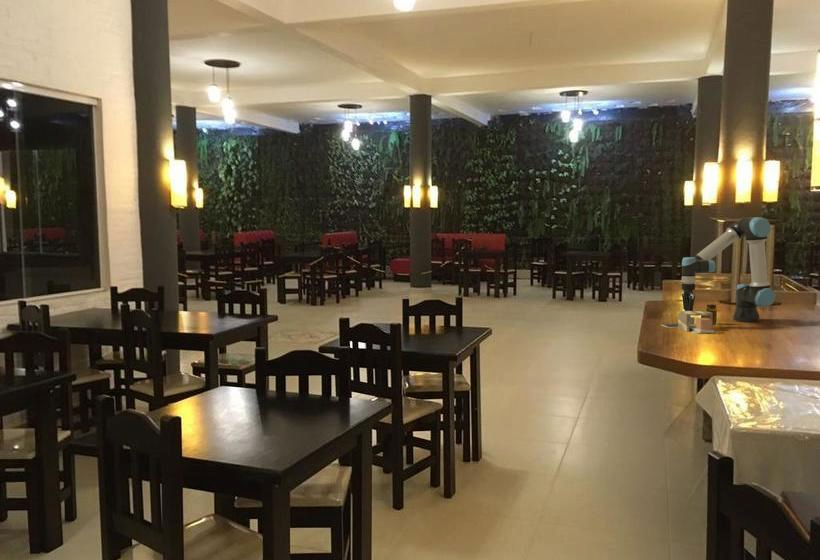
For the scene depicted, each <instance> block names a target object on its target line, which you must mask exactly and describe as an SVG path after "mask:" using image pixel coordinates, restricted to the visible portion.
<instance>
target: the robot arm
mask: <svg viewBox="0 0 820 560" xmlns="http://www.w3.org/2000/svg"><path fill="white" fill-rule="evenodd" d="M771 229H772V228H771V223H770V222H769V220H768V219H766V218H764V217H759V216H753V217H752V216H751V217H748V216H747V217H742V218H740V219H738V220H737V221H735V222H734V223H732V224H731V225H730V226H728V227H727V228H726V230H725V231H724V232H723V233H722V234H721V235H720V236H718V237H717V238H716V239H714V240H713V241H712V242H711V243H710V244H709V245H707V246H706V247H705V248H703V249H702V250H701V251H699V252H698V253H697V254H695V255H694V256H693V257H692V256H690V257H689V256H687V257H683V258H682V260H681V290H683V293H681V297H682V307H683V309H682V310H683V311H694V303H695V298H696V296H695V295H694V292H693V291H695V290H696V284H695V283H696V274H704V273H706V274H709V273H714V272H715V270H716V267H717V265H716V262H715V261H714V260H712V259H713V258H715V257H716V256H718V255H719V254H720V253H721V252H722V251H723V250H725V249H726V248H727V247H729V246H730V245H732V244H733V242H737V241H739V240H741V239H743V238H745V241H746V243H748V248H749V249H748V251H749V252H748V253H749V263H750V264H749V265H750V278H751V279H750V280H751V282H750V283H741V284H740V283H738V284H737V286H736V290H735V291H736V298H735V299H736V300H735V301H736V303H735V305H736V306H735V310H734V312H733V315H732V321H734V322H735V321H736V322H741V323H742V322H744V323H754V322H755V323H758V322H760V320H761V318H760V314H759V310H758V307H760V308H767V307H771V305H772V304H773V303H774V302H775V300H776V292H775V291H774V290H773V289H772V286H771V283H770V282H769V281H768V271H767V270H768V268H767V255H766V253H767V252H766V242H767V240H768V236H769V234H770V233H771ZM689 317H692V316H689Z"/></svg>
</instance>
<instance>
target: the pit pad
mask: <svg viewBox="0 0 820 560" xmlns="http://www.w3.org/2000/svg"><path fill="white" fill-rule="evenodd" d="M662 326H663V327H664V328H665V327H666V328H670V329H671V328H675V329H676V328H678V323H673V324H672V323H670V324H661V327H662Z"/></svg>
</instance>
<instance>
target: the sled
mask: <svg viewBox="0 0 820 560" xmlns="http://www.w3.org/2000/svg"><path fill="white" fill-rule="evenodd" d="M711 321H712V320H711V319H708V318H701V317H698V318H697V317H696V319H695V316H691V317H689V330H691V331H697V332H699V333H703V334H715V333H714V332H715V329H713V328H712V329H711Z"/></svg>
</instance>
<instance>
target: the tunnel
mask: <svg viewBox="0 0 820 560" xmlns="http://www.w3.org/2000/svg"><path fill="white" fill-rule="evenodd" d="M689 316H691V317H696V316H697V317H698V316H700V318H708V319H711V320H712V319H713V313H711V312H707V311H706V310H693V311H685V310H678V318H677V319H678V321H677V322H678V323H677V324H678V327H677V328H678V329H679V330H682V331H685V332H690V329H689ZM711 329H712V330H713V325H712V321H711Z"/></svg>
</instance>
